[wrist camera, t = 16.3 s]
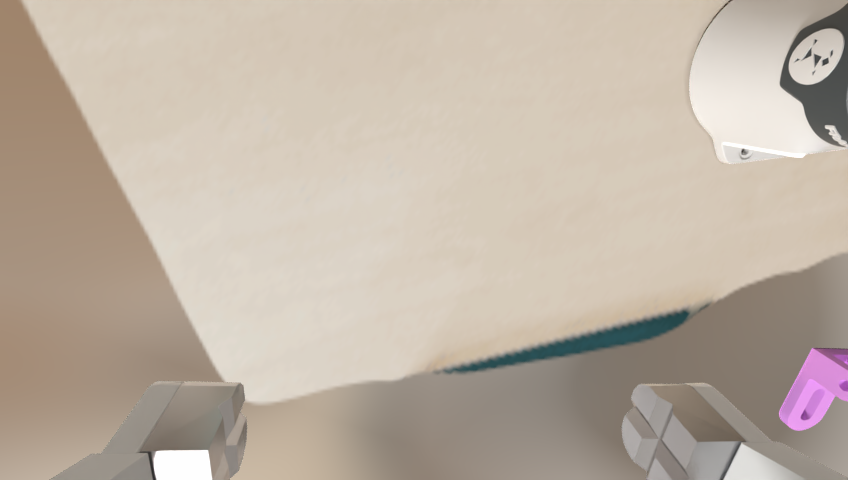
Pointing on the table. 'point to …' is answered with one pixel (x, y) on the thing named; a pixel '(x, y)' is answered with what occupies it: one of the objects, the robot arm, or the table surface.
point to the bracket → (816, 388)
